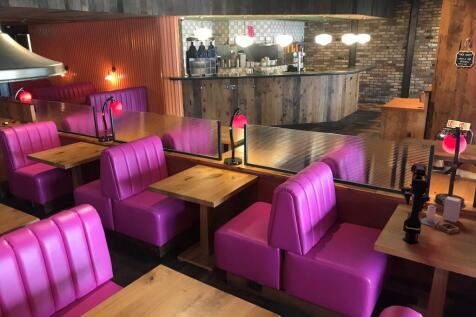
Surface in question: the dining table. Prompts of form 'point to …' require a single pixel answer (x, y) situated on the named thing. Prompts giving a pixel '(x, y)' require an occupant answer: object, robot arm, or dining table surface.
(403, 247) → the dining table surface
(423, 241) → the dining table surface
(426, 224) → the grey mat
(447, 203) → the skincare box
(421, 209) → the coffee mug
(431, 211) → the cream shaker
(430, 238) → the dining table surface
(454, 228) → the walnut pocket
